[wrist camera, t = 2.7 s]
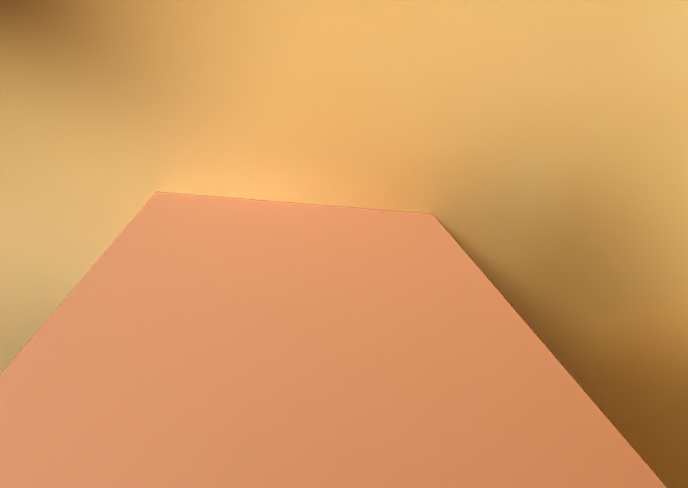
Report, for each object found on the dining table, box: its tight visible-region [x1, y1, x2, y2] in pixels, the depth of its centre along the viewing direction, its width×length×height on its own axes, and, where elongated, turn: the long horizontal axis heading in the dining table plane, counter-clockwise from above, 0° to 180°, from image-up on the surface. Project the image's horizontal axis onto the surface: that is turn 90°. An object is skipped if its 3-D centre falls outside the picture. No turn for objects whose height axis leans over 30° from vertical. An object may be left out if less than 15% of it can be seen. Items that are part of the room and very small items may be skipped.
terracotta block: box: [0, 192, 667, 488], centre depth 6 cm, size 5×5×6 cm
